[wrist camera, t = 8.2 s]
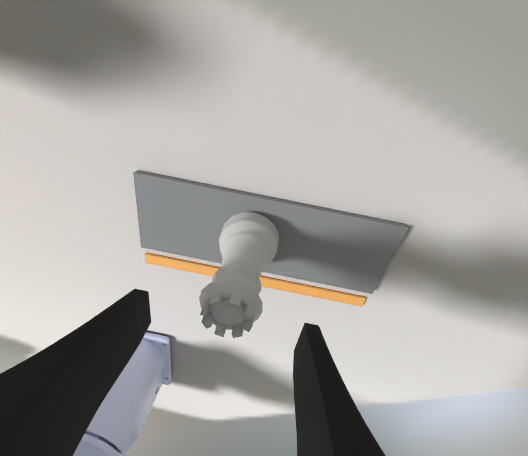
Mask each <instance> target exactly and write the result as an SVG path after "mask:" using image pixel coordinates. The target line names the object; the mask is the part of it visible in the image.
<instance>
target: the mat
mask: <svg viewBox="0 0 528 456" xmlns="http://www.w3.org/2000/svg"><path fill="white" fill-rule="evenodd" d="M133 173H134V183H135V192H136V202H137V211H138V221H139V231H140V240H141V247H143V248H148V249H153V250H158V251H163V252H168V253H172V254H177V255H182V256H187V257H192V258H197V259H202V260H207V261H212V262H217V263H222V259H223V258H222V253H221V252H220V245H219V237H220V235H221V232H222V229H223V226H224V224H225V222H227V221H228V220H229V219H230V218H231V217H232V216H234V215H237V214H239V213H242V212H250V213H257V214H259V215H262V216H264V217H266V218H268V219H269V220H270V221H271V222H272V223H273V224H274V225H275V227H276V229H277V232H278V234H279V245H278V247H277V253H276V255H275V256H274V258H273V260H272V262H271V263H269V264H268V265H267V266H266V267H265V268H263V269H262V272H267V273H272V274H277V275H282V276H286V277H291V278H296V279H301V280H306V281H311V282H316V283H321V284H326V285H331V286H336V287H341V288H346V289H351V290H356V291H361V292H366V293H371V294H372V293H373V292H374V290H375V288H376V286H377V284H378V283H379V281H380V279H381V277H382V275H383V274H384V272H385V270H386V268H387V266H388V265H389V263H390V261H391V259H392V257H393V256H394V254H395V252H396V250H397V248H398V247H399V245H400V243H401V241H402V239H403V238H404V236H405V234H406V232H407V230H408V229H409V228H408V227H407V226H406V225H405V224H402V223H397V222H392V221H387V220H382V219H377V218H372V217H367V216H362V215H357V214H352V213H347V212H343V211H338V210H333V209H328V208H323V207H318V206H313V205H308V204H303V203H298V202H293V201H288V200H283V199H278V198H273V197H268V196H263V195H258V194H253V193H248V192H243V191H238V190H233V189H229V188H224V187H219V186H214V185H209V184H204V183H199V182H194V181H189V180H184V179H179V178H174V177H169V176H164V175H159V174H154V173H149V172H144V171H139V170H138V171H136V172H133Z"/></svg>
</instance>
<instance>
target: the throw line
mask: <svg viewBox="0 0 528 456" xmlns="http://www.w3.org/2000/svg"><path fill="white" fill-rule="evenodd" d="M145 262H146V263H149V264H154V265H159V266H164V267H169V268H174V269H179V270H183V271H188V272H193V273H198V274H203V275H208V276H214V273H215V272H216V271H217V270H218V269H219V267H214V266H209V265H204V264H200V263H195V262H190V261H185V260H180V259H175V258H170V257H165V256H160V255H155V254H150V253H145ZM259 279H260V281H261V286H263V287H268V288H273V289H278V290H283V291H288V292H292V293H297V294H302V295H307V296H312V297H317V298H322V299H327V300H332V301H337V302H342V303H347V304H352V305H357V306H363V304H364V302H365V300H366V297H363V296H358V295H353V294H348V293H343V292H338V291H333V290H328V289H323V288H318V287H313V286H309V285H304V284H299V283H294V282H289V281H284V280H279V279H274V278H269V277H264V276H260V278H259Z"/></svg>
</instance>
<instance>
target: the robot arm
mask: <svg viewBox="0 0 528 456" xmlns="http://www.w3.org/2000/svg"><path fill="white" fill-rule="evenodd" d="M150 323H151V316H150V305H149V294H148V291H143V290H138V289H134V290H132V291H131V292H129V293H128V294H127V295H125V296H124V297H122V298H121V299H120V300H118V301H117V302H115V303H114V304H112V305H111V306H110V307H108V308H107V309H105V310H104V311H102V312H101V313H100V314H98V315H97V316H95V317H94V318H92V319H91V320H89V321H88V322H86V323H85V324H83V325H82V326H80V327H79V328H77V329H76V330H74V331H73V332H71V333H69V334H68V335H66V336H65V337H63V338H62V339H60V340H58V341H57V342H55V343H54V344H52V345H50V346H49V347H47V348H45V349H44V350H42V351H40V352H39V353H37V354H35V355H33V356H32V357H30V358H28V359H26V360H25V361H23V362H21V363H19V364H18V365H16V366H14V367H12V368H10V369H9V370H6V371H5V372H3V373H1V374H0V456H124V454H125V453H126V452H127V451H128V450H129V449H130V448H131V446H132V445H133V444H134V442H135V441H136V439H137V438H138V435H139V433H140V431H141V429H142V427H143V425H144V423H145V420H146V418H147V416H148V414H149V412H150V409H151V407H152V405H153V403H154V401H155V398H156V396H157V394H158V392H159V390H160V387H161V385H162V384H166V385H169V384H170V383H171V356H170V339H169V338H168V337H167V336H162V335H157V334H152V333H147V332H146V331H147V329H148V327H149V325H150ZM293 382H294V399H295V414H296V428H297V429H296V430H297V456H385V454H384V453H383V451H382V449H381V448H380V446H379V445H378V443H377V442H376V440H375V438H374V437H373V435H372V433H371V432H370V430H369V428H368V427H367V425H366V423H365V421H364V420H363V418H362V416H361V414H360V412H359V411H358V409H357V407H356V405H355V403H354V401H353V399H352V398H351V396H350V394H349V392H348V390H347V388H346V386H345V384H344V382H343V380H342V378H341V376H340V374H339V371H338V369H337V367H336V365H335V363H334V361H333V359H332V356H331V354H330V352H329V349H328V347H327V345H326V342H325V340H324V337H323V335H322V332H321V330H320V327H319V326H318V325H313V324H308V323H305V324H304V326H303V329H302V331H301V334H300V336H299V339H298V342H297V344H296V347H295V349H294V363H293Z"/></svg>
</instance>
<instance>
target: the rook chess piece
mask: <svg viewBox="0 0 528 456" xmlns="http://www.w3.org/2000/svg"><path fill="white" fill-rule="evenodd" d="M219 245H220V252H221V253H222V258H223V259H222V264H221V268H219V269H218V270H217V271H216V272H215V273H214V276H213V279H212V280H213V282H212V283H210V284H208V285H207V286H206V287H205V288H204V289H202V292H201V295H200V297H199V299H200V304H201V308H202V311H201V314H200V315H203V316H204V317H203V320H202V323H203V325H204V326H205V327H206V329H207V328H209V327H211V325H212V323H213V324H215V325H216V326H217V327H216V330H215V333H214V334H216V335H219V336H222V337H224V334H225V330H226V329H230V330H233V331H232V336H233V338H235V337H240V336H242V334H243V329H244V330H246V331H248V332H249V331H250V329H251V327H252V325H253V322H254V321H256V320H257V319H258V318H259V316H260V314H261V313H262V301H261V299H260V297H259V296H258V294H259V293H260V291H261V281H260V279H259V278H260V275H261V272H262V269H263V268H265V267H266V266H267V265H268V264H269V263H271V262H272V260H273V258H274V256H275V255H276V253H277V247H278V245H279V234H278V232H277V229H276V227H275V225H274V224H273V223H272V222H271V221H270V220H269V219H268V218H266V217H264V216H262V215H259V214H257V213H250V212H242V213H239V214H237V215H234V216H232V217H231V218H230V219H229V220H228V221H227V222H225V224H224V226H223V229H222V232H221V235H220V237H219Z"/></svg>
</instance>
